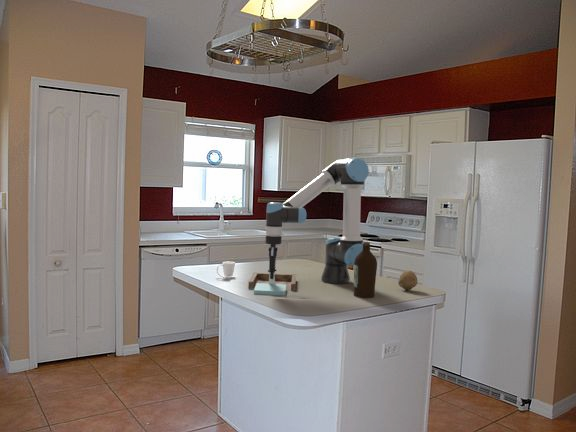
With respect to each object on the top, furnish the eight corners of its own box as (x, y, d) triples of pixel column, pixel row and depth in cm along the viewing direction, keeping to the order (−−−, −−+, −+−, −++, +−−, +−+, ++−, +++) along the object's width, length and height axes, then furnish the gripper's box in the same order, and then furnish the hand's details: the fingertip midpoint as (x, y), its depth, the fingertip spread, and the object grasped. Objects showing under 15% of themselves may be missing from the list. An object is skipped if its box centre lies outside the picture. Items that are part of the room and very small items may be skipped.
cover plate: (286, 289, 242) (286, 284, 242) (285, 297, 230) (285, 291, 230) (256, 288, 243) (256, 283, 242) (253, 295, 231) (253, 290, 230)
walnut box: (295, 282, 266) (296, 274, 266) (295, 292, 241) (295, 283, 241) (253, 280, 267) (253, 272, 267) (248, 290, 242) (248, 281, 242)
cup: (236, 278, 270) (237, 263, 270) (218, 279, 266) (218, 263, 266) (232, 276, 277) (233, 261, 276) (214, 276, 272) (215, 261, 272)
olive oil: (373, 293, 245) (376, 241, 243) (377, 298, 234) (380, 244, 233) (351, 292, 245) (353, 240, 243) (353, 297, 234) (356, 243, 233)
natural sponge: (421, 291, 254) (422, 271, 254) (407, 293, 250) (408, 272, 249) (408, 288, 262) (409, 268, 261) (395, 289, 258) (396, 269, 257)
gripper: (266, 233, 248) (264, 282, 249) (264, 236, 235) (262, 287, 236) (282, 234, 248) (280, 283, 249) (280, 237, 235) (278, 288, 236)
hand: (271, 285), depth 243 cm, fingers closed
